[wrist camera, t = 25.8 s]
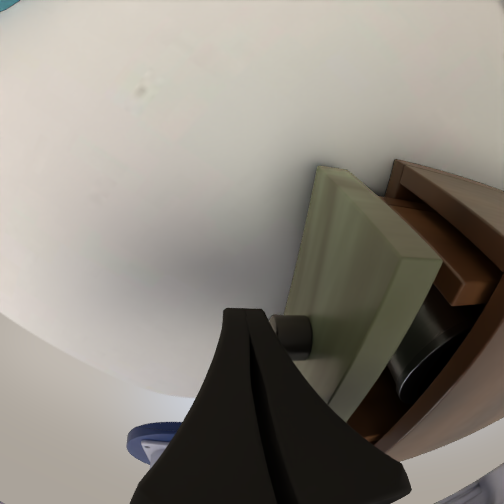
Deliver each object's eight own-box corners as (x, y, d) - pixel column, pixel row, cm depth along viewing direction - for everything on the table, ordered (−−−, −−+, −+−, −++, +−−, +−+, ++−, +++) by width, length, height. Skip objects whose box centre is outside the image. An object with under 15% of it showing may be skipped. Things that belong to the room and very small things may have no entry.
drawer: (247, 363, 15) (259, 466, 10) (282, 160, 10) (344, 254, 5) (455, 345, 17) (492, 408, 13) (525, 212, 12) (591, 269, 7)
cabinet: (325, 355, 17) (361, 472, 11) (394, 158, 11) (535, 263, 5) (481, 335, 19) (525, 404, 13) (547, 208, 13) (618, 270, 7)
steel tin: (426, 335, 14) (458, 392, 11) (351, 342, 14) (379, 412, 10) (466, 261, 12) (515, 317, 8) (388, 256, 11) (439, 329, 8)
